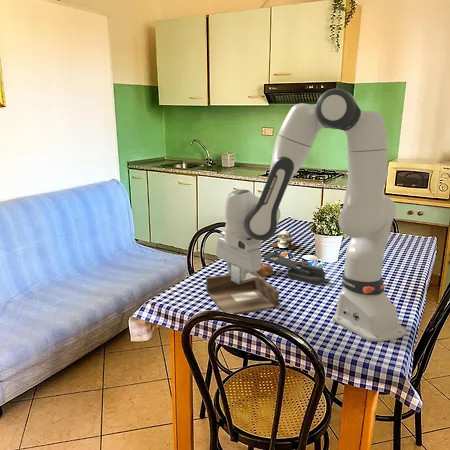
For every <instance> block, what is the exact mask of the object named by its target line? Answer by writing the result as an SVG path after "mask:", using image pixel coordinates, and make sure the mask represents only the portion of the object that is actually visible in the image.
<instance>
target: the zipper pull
mask: <svg viewBox="0 0 450 450" xmlns="http://www.w3.org/2000/svg"><path fill="white" fill-rule="evenodd" d="M272 258H276V259H272ZM263 260H264V261H266V262H267V261H268V262H270V263H272V264H277V265H278V266H279V265H280V266H283V267H285V268H289V269H288V270H287V277H288V279H292V280H295V281H300V282H303V283H306V284H309V285H322V284H323V283H325V280H326V274H325V271H324V269H323V268H322V267H319V266H315V265H310V264H303V263H300V262H298V261H294V260H292V259H291V258H287V257H285V256H282V255H280V254H277V253H276V252H270V253H268V254H266V255H264V257H263Z"/></svg>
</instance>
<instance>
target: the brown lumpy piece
mask: <svg viewBox="0 0 450 450" xmlns="http://www.w3.org/2000/svg"><path fill="white" fill-rule="evenodd" d="M248 272H249V271H248ZM256 273H258V274H259V275H260V276H261V277H262V278H264V277H267V276H269V277H270V276H273V274H274V273H275V271H274V269H273V268H272V266H271V265H270V264H268V263H266V262H261V268H260V270H259V271H256Z"/></svg>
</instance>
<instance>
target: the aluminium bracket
mask: <svg viewBox="0 0 450 450" xmlns="http://www.w3.org/2000/svg"><path fill="white" fill-rule="evenodd" d="M241 273H242V270H241V267H238V266H236V265H234V264H231V281H233V282H235V283H237V284H239V285H240V284H243V283H246V282H249V281H252V280H256V279H257V276H255V275H253V274H250V273H247V274H246V279H244V280H242V279H240V278H239V274H241Z"/></svg>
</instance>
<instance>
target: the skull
mask: <svg viewBox="0 0 450 450" xmlns="http://www.w3.org/2000/svg"><path fill="white" fill-rule="evenodd" d="M277 237H278V238H277V242H275V243H274V242H273V243H272V244H271V247H273V248H275V247H285V248H288V249H287V250H292V249H293V250H294V249H296V248H297V245H295V244H292V241H293V240H292V239H293V236H292V234H291V233H290V232H289V231H287V230H282V231H280V233H279V234H278V236H277Z"/></svg>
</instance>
